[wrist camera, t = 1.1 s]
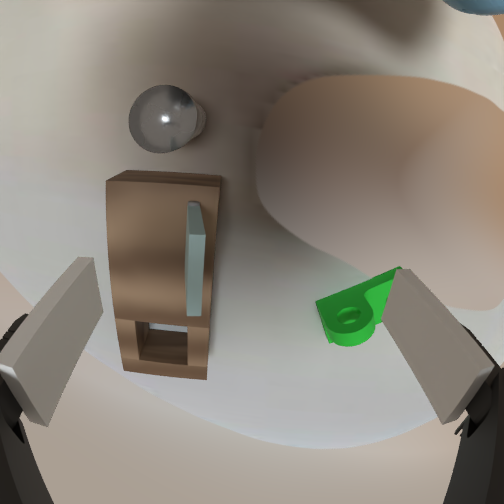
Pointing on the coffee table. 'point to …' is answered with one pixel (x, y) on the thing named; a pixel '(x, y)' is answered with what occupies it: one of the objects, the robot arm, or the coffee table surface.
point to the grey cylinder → (165, 119)
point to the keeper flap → (194, 258)
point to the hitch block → (159, 269)
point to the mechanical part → (355, 310)
